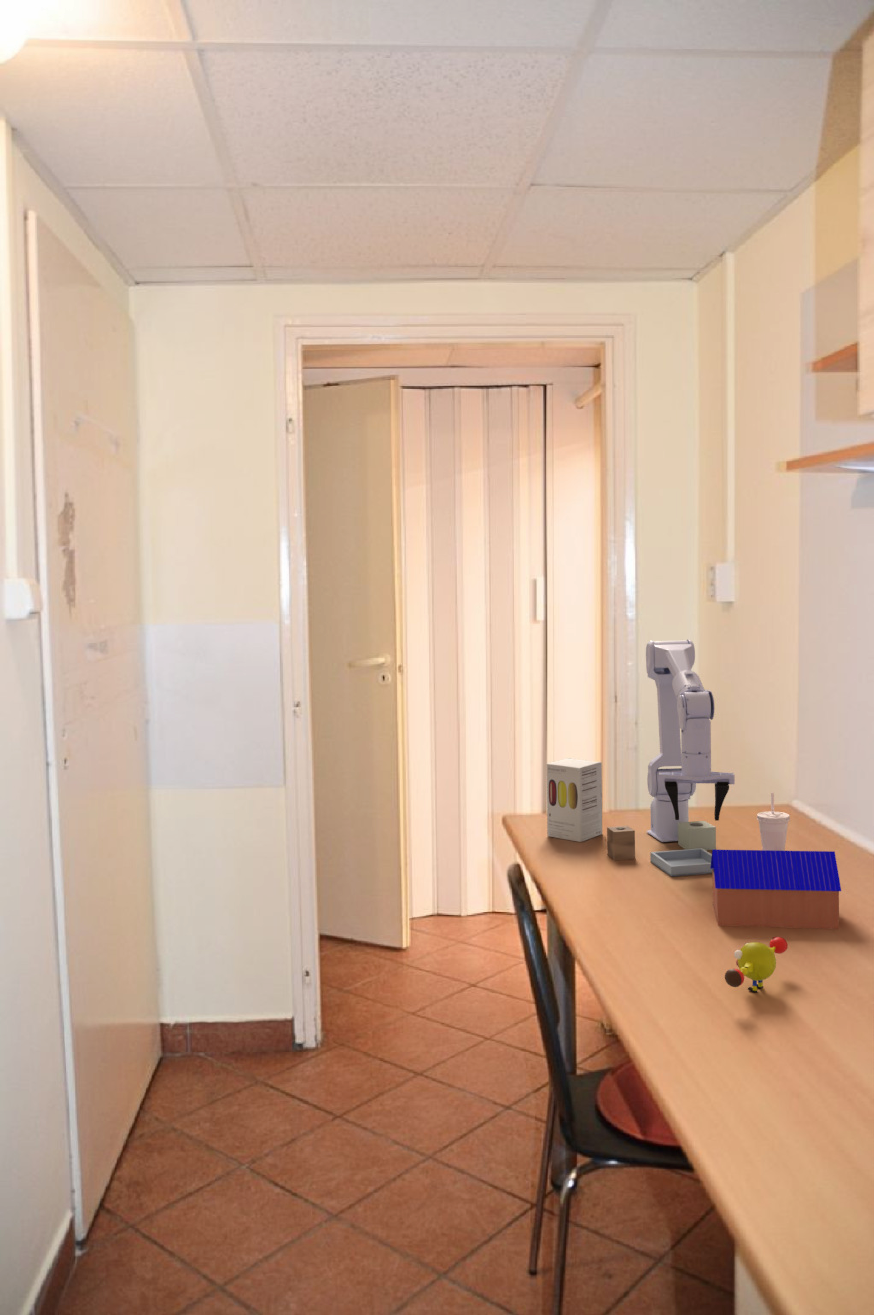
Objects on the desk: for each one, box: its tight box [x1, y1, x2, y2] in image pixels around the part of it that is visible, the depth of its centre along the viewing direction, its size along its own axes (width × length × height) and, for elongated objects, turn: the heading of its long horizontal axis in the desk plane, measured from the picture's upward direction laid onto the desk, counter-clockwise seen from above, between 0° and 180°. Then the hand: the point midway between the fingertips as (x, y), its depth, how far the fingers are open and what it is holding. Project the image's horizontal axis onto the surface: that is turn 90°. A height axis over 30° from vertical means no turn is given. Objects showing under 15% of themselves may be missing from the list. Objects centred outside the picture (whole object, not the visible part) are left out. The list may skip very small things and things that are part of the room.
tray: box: [649, 848, 712, 878], centre depth 213 cm, size 11×11×2 cm
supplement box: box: [546, 757, 603, 843], centre depth 241 cm, size 10×9×17 cm
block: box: [606, 825, 636, 861], centre depth 222 cm, size 4×4×6 cm
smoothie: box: [756, 792, 791, 851], centre depth 215 cm, size 6×6×14 cm
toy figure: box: [724, 936, 789, 993], centre depth 151 cm, size 18×6×7 cm, turn 141°
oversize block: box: [677, 820, 717, 851], centre depth 228 cm, size 6×6×5 cm
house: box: [710, 849, 842, 930], centre depth 182 cm, size 12×20×12 cm, turn 80°
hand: (696, 819), depth 212 cm, fingers open, 7 cm apart
